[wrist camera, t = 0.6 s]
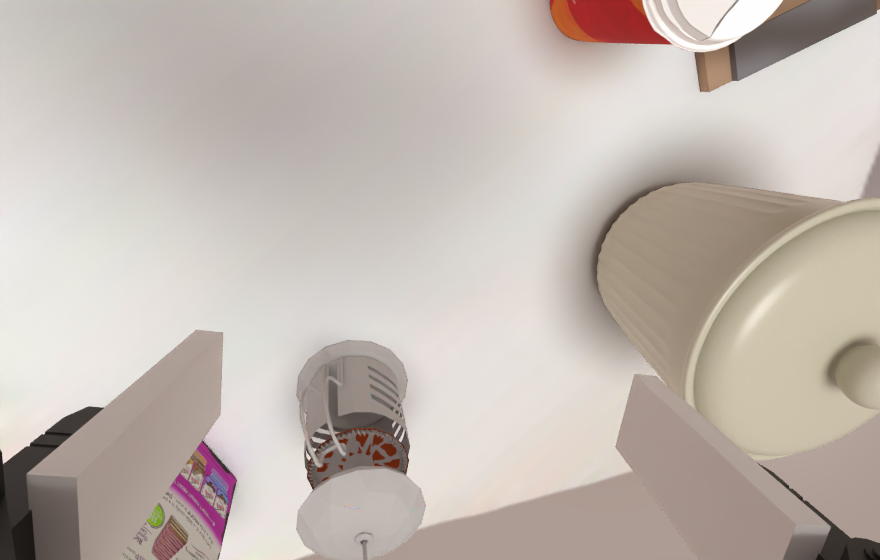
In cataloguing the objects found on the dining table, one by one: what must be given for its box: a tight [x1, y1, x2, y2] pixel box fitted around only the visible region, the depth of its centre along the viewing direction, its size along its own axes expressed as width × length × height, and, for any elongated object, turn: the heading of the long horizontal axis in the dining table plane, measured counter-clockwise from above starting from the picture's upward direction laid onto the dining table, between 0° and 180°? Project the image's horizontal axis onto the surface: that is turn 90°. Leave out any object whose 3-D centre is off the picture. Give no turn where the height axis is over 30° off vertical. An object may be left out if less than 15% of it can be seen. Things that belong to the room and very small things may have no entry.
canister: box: [597, 182, 880, 461], centre depth 34 cm, size 18×18×21 cm
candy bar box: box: [119, 442, 237, 560], centre depth 34 cm, size 11×5×16 cm, turn 22°
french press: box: [296, 340, 426, 560], centre depth 31 cm, size 10×12×25 cm
